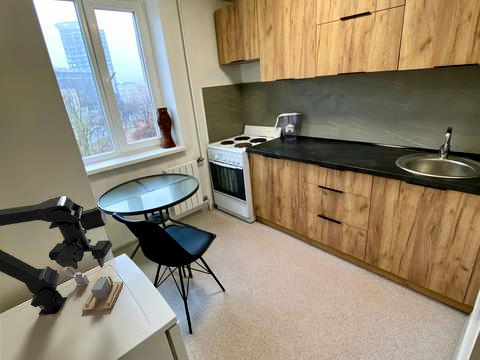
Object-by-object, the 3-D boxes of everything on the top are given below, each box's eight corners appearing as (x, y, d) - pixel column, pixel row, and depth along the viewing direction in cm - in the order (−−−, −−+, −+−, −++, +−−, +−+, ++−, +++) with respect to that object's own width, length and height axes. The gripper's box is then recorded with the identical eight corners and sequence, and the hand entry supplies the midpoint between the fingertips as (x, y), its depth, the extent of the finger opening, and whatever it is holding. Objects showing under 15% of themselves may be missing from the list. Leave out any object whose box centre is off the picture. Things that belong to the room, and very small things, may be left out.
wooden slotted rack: (82, 311, 87) (77, 302, 85) (97, 285, 97) (92, 275, 94) (111, 309, 87) (106, 299, 85) (123, 283, 97) (119, 273, 94)
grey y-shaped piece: (89, 281, 99) (82, 266, 95) (86, 284, 98) (79, 270, 94) (73, 280, 100) (65, 266, 96) (70, 284, 98) (61, 269, 95)
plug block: (95, 299, 90) (90, 290, 88) (102, 287, 94) (97, 278, 92) (105, 298, 90) (100, 289, 88) (111, 286, 94) (107, 277, 92)
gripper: (26, 252, 75) (48, 288, 82) (88, 249, 75) (105, 285, 82) (51, 228, 85) (68, 262, 92) (105, 225, 85) (119, 259, 92)
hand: (89, 267), depth 89 cm, fingers open, 9 cm apart
